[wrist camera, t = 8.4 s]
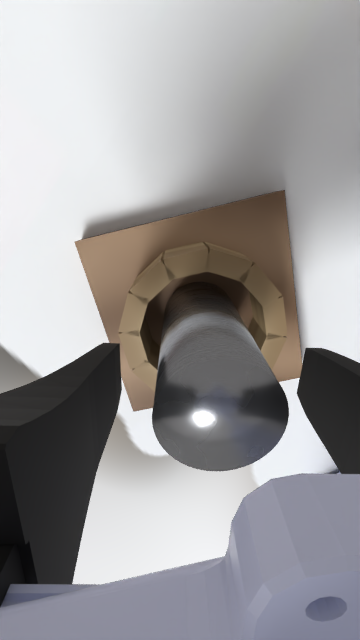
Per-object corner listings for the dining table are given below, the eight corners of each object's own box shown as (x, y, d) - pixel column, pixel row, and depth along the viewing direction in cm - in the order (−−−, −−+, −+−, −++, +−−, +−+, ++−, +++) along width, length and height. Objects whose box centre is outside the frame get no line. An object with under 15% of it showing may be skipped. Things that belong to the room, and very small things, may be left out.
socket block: (296, 367, 20) (323, 404, 16) (135, 400, 21) (127, 443, 17) (276, 191, 16) (307, 186, 12) (81, 239, 17) (54, 249, 13)
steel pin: (246, 325, 18) (310, 435, 9) (188, 358, 18) (197, 489, 10) (211, 267, 16) (248, 333, 8) (150, 306, 17) (124, 402, 9)
